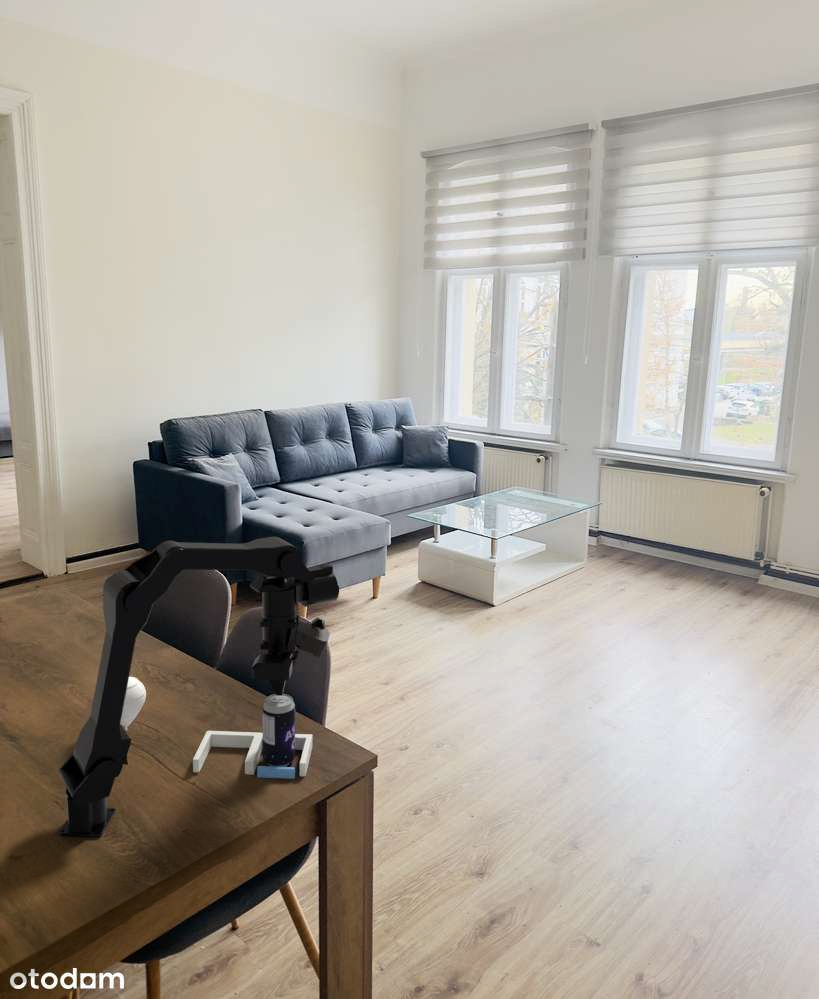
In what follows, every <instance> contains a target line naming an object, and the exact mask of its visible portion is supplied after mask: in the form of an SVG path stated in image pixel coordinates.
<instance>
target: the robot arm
mask: <svg viewBox="0 0 819 999" xmlns="http://www.w3.org/2000/svg"><path fill="white" fill-rule="evenodd" d="M302 559H303V558H302V554H301V551H300V549H299V548H298V547H297V546H296V545H293V544H291V543H290V542H288V541H286V540H284V539H282V538H280V537H277V536H268V537H261V538H256V539H253V540H251V541H249V542H245V543H228V542H227V543H225V542H224V543H220V542H219V543H218V542H212V543H211V542H185V541H184V542H180V541H179V542H177V541H174V540H166V541H165V540H164V542H162V543H159V544H158V545H157V546H156V547H155V548H154V549H152V550H151V551H150V552H148V553H146V554H144V555H143V556H141V557H139V558H137V559H135V560H133V561H132V562H131V563H129V564H128V565H127V566H126V567H124V568H123V569H122V570H119V571H117V572H114V573H112V575H110V576H109V577H107V578H106V579H105V581H104V584H103V588H102V610H103V616H104V617H103V618H104V623H105V635H104V639H103V640H104V641H103V646H102V650H101V655H100V656H101V657H100V661H99V666H98V673H97V679H96V683H95V687H94V688H95V690H94V694H93V699H92V705H91V709H90V710H91V711H90V716H89V718H88V719H87V721H86V722H85V724H84V725H83V726H82V728H81V729H80V732H79V734H78V736H77V739H76V742H75V744H74V748H73V752H72V753H71V754H70V756H69V757H68V758H67V759H66V760H65V761H64V762H63V764H62V765H61V766H60V767H59V769H58V772H59V775H60V776H61V778H62V780H63V782H64V784H65V786H66V790H65V798H66V812H67V819H66V820H65V822H64V824H63V825H62V826H61V827H60V828H59V830H58V833H59V834H58V835H60V836H70V837H71V836H74V837H96V838H97V837H98V838H99V837H101V836H103V834H104V833H105V832H106V829H107V828H108V826H109V825H110V823H111V821H112V820H113V818H114V816H115V814H117V813H116V812H117V810H116V808H115V807H108V800H107V798H108V797H110V795H111V792H112V789H113V786H114V783H115V779H116V778H118V777H120V775H121V773H122V770H123V768H124V765H125V766H127V765H129V762H128V753H129V751H130V747H131V745H132V738H131V737H130V736H129V734H128V733H127V731H126V730H125V729H124V728H125V727H124V726H123V725H121V724H120V722H121V717H122V712H123V706H124V701H125V696H126V690H127V685H128V680H129V677H130V674H131V670H132V661H133V659H134V658H133V657H134V651H135V648H136V641H137V638H138V635H139V634H140V632H142V630H143V628H144V627H145V625H146V624H147V623H148V621H149V618H150V614H151V612H152V609H153V606H154V604H155V602H156V601H157V600H158V599H159V598H160V597H162V596H163V595H164V593H165V592H166V591H167V590H168V589H169V587H170V586H171V584H172V583H173V582H174V580H175V578H176V576H178V575H179V574H180V573H181V572H182V571H250V572H255V573H258V574H259V575H258V576H257V577H256V579H254V580H253V581H251V583H250V584H249V587H250V588H252V589H253V590H254V591H256V592H257V593H260V594H262V596H261V597H262V617H261V619H260V621H259V624H260V625H259V627H260V628H262V640H261V642H260V645H259V646H260V650H264V652H263V653H260V654H259V655H258V656H257V657H256V658H255V659H254V661H253V663H252V666H251V679H253V680H255V681H257V680H260V681H268V682H269V684H270V686H271V688H272V690H273V693H274V694H276V695H277V696H282V694H284V691H285V686H286V682H287V681H288V680H290V678H291V675H292V672H293V669H294V668H295V665H296V663H297V658H298V656H299V653H300V651H299V650H301V651H304V652H306V653H309V654H312V655H313V656H314V657H316V658H321V657H322V656H323V653H324V651H325V648H326V646H327V644H328V642H329V637H330V635H331V634H330V632H329V629H328V628H326V622H325V619H323V618H321V617H318V616H316V617H315V618H314V619H313V620H311V622H310V621H306V622H302V621H301V620H300V618H301V617H300V614H299V612H298V611H297V603H300V605H302V606H303V607H305V608H307V607H311V606H317V605H322V604H327V603H331V602H335V601H337V600H338V598H339V596H340V585H339V584H338V583H339V582H338V579H337V577H336V575H335V574H334V566H332V565H330V564H329V563H321V564H319V565H316V566H310V567H307V565H305V563H304V562H303V561H302ZM266 576H269V577H266ZM298 649H299V650H298Z"/></svg>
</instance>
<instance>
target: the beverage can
mask: <svg viewBox="0 0 819 999" xmlns="http://www.w3.org/2000/svg"><path fill="white" fill-rule="evenodd" d="M262 733H263V749H262V760H263V761H264V762H265V763H266V764H267V765H268V766H271V767H288V765H290V764H291V763H292V762H293V761H294V760H295V758H296V750H295V734H296V704H295V702H294V699H293V697H292V696H290V694H285V693H283V694H282V696H277V695H276V694H275V693H273V694H271V695H269V696H266V698H265V699H264V704H263V705H262Z"/></svg>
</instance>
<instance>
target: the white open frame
mask: <svg viewBox="0 0 819 999" xmlns="http://www.w3.org/2000/svg"><path fill="white" fill-rule="evenodd" d="M212 747H214V748H215V747H216V748H220V747H221V748H240V749H244V748H245V749H249V750H248V752H247V755H246V757H245V760H244V774H245V775H254V774H255V772H256V770H257V773H256V774H257V776H256V777H257V778H267V779H269V778H270V779H291V780H292V779H295V777H296V775H295V774H296V767H292V766H289V767H288V766H285V767H271V766H269V765H268V766H267V765H264V766H263V765H258V763H259V761H260V758H261V755H262V753H263V732H253V731H252V732H251V731H226V730H225V731H224V730H220V731H219V730H207V731H206V732H205V734H204V736H203V739H202V740H201V742H200V745H199V746H198V749H197V751H196V752H195V755H194V756H193V758H192V772H193V773H200V771H201V769H202V767H203V765H204V762H205V761H206V758H207V756H208V754H209V753H210V750H211V748H212ZM312 749H313V734H307V733H305V734H303V733H295V751H296V750H297V751H298V750H300V751H302V753H301V758H300V760H299V777H306V776H307V771H308V766H309V763H310V759H311V755H312V751H313V750H312Z"/></svg>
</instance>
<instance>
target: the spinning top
mask: <svg viewBox="0 0 819 999" xmlns="http://www.w3.org/2000/svg"><path fill="white" fill-rule="evenodd" d="M146 698H147V691H146V687H145V686H144V684H143V682H141V681H140V680H139V679H138V678H137V677H134V676H129V680H128V685H127V690H126V696H125V701H124V706H123V712H122V717H121V722H120V724H121V726H122V727H124V728H125V729H124V730H125V731H126V732H127V731H128V727H129V726H130V725H131V723H132V722H133V721H134V720H135V719H136V717H137V716H138V715H139V712H140V711H141V710H142V707H143V706H144V704H145V701H146Z"/></svg>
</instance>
